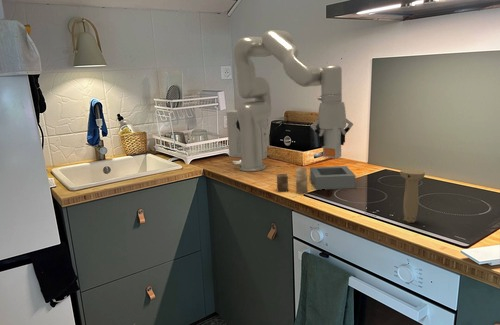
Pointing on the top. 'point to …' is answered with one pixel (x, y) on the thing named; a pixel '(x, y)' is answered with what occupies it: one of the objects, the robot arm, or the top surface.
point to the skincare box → (332, 143)
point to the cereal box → (235, 135)
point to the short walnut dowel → (282, 182)
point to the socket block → (332, 177)
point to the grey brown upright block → (301, 180)
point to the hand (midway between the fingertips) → (332, 144)
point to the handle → (411, 193)
